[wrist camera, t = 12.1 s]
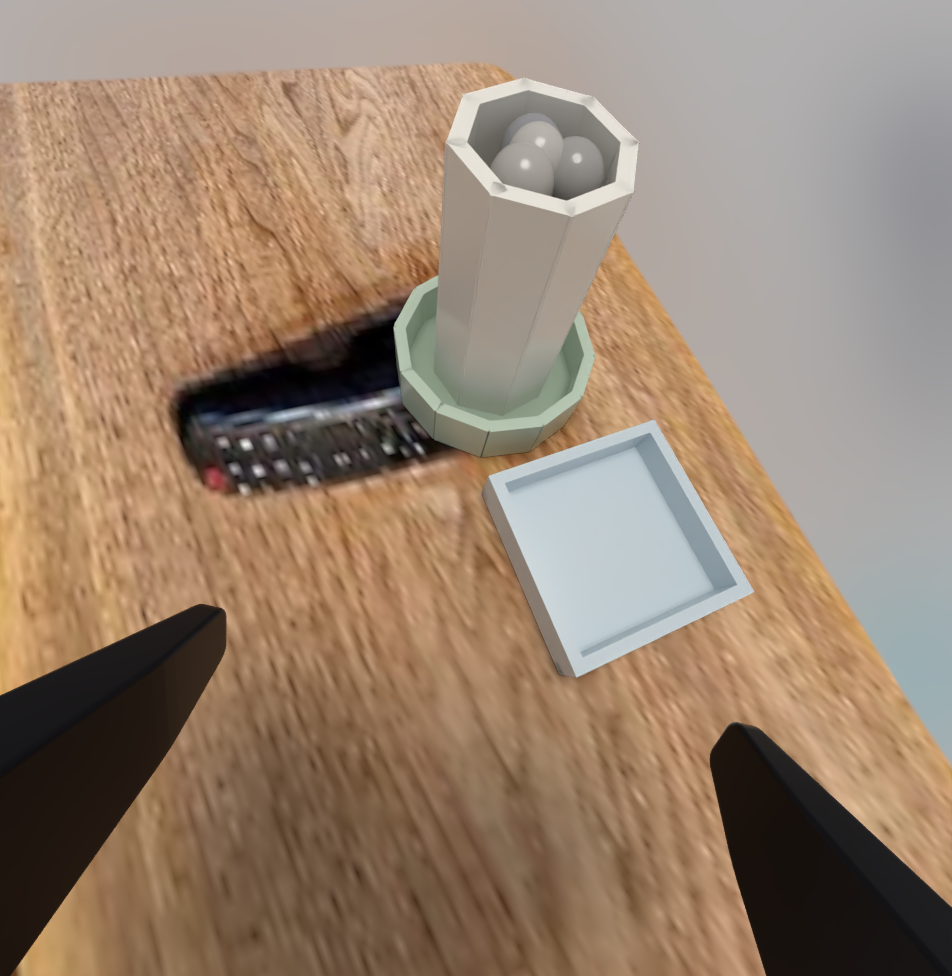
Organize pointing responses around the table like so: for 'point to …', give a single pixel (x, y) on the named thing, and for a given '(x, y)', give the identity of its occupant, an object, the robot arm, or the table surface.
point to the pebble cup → (522, 234)
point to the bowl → (474, 426)
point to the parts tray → (611, 546)
